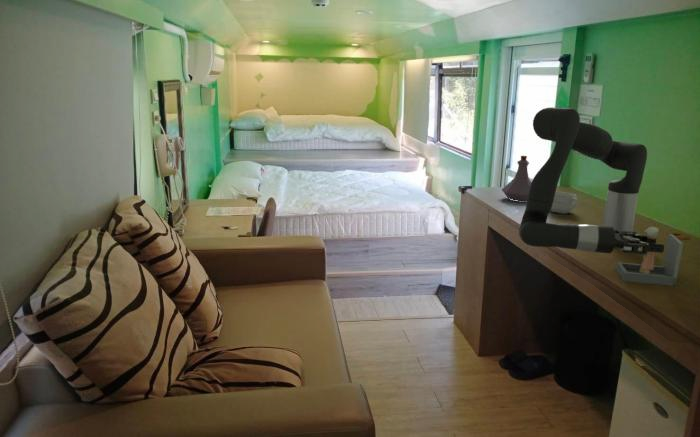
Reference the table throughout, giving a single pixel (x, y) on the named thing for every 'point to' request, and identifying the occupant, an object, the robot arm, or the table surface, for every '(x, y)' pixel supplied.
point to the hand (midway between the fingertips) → (659, 244)
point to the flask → (519, 183)
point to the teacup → (564, 202)
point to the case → (656, 267)
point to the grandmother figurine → (649, 257)
